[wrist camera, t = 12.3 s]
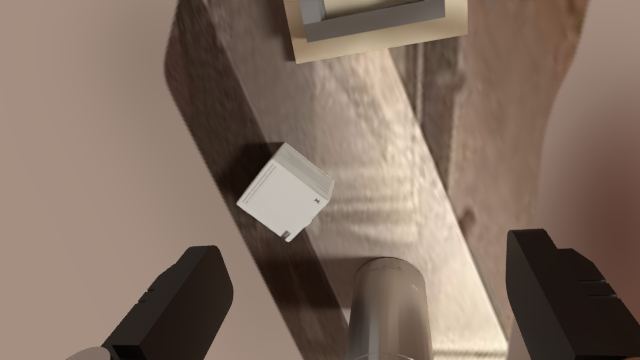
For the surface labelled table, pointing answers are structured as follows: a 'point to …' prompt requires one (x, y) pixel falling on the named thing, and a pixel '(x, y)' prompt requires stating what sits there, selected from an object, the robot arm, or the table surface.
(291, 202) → the small box
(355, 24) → the keyed socket block
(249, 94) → the table surface
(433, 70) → the table surface
